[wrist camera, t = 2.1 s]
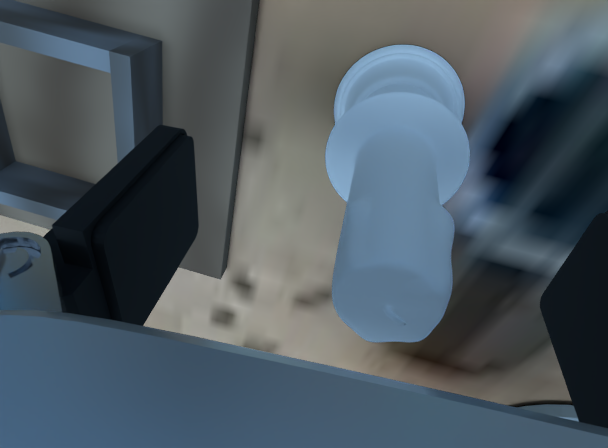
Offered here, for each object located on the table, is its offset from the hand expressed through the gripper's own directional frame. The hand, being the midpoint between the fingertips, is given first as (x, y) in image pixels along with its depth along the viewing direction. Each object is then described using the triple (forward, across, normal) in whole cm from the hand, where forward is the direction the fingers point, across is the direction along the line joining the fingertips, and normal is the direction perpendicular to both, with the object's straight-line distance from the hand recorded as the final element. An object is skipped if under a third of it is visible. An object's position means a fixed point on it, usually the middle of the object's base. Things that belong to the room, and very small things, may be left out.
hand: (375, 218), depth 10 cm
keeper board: (+9, +14, +4) cm, 17 cm away
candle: (+10, -1, +1) cm, 10 cm away
